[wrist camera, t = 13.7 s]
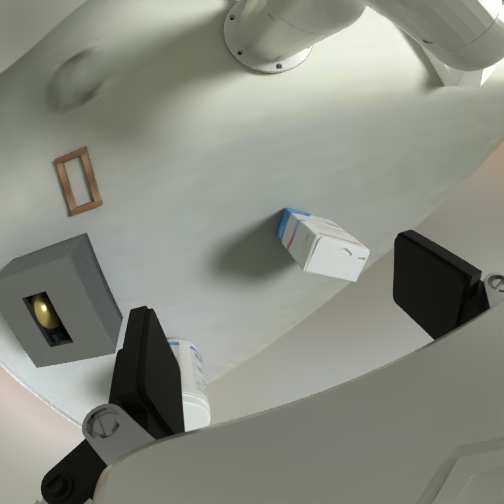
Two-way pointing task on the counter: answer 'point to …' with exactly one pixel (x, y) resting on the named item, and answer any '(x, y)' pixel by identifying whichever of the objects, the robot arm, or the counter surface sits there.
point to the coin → (44, 310)
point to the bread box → (459, 73)
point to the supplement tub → (191, 384)
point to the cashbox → (61, 303)
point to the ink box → (321, 246)
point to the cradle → (90, 177)
